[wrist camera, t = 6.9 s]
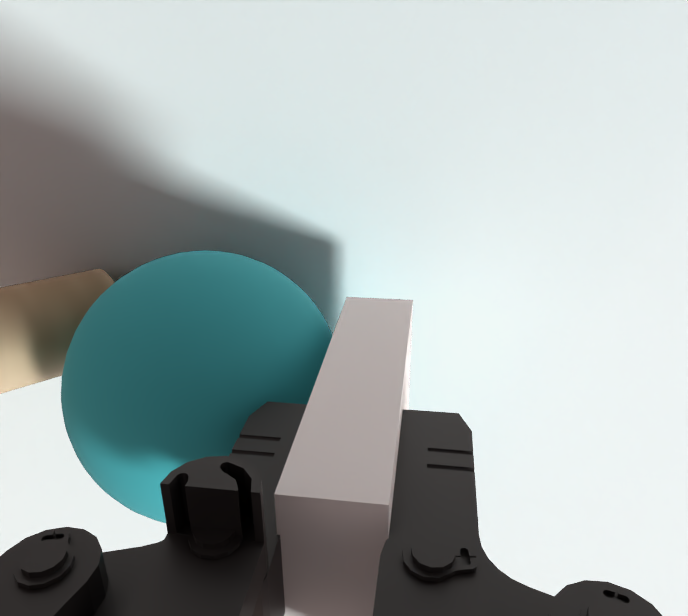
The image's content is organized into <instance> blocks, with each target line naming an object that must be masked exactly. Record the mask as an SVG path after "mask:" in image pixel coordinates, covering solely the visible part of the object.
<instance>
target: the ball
mask: <svg viewBox="0 0 688 616" xmlns="http://www.w3.org/2000/svg"><path fill="white" fill-rule="evenodd" d="M331 339H332V334H331V331H330V329H329V327H328V324H327V323H326V321H325V319H324V317H323V315H322V314H321V312H320V311H319V309H318V308H317V306H316V305H315V303H314V302H313V301H312V300H311V299H310V297H309V296H308V295H307V294H306V293H305V292H304V291H303V290H302V289H301V288H300V287H299V286H298V285H297V284H295V283H294V282H293V281H292V280H290V279H289V278H288V277H286V276H285V275H284V274H282V273H281V272H279V271H278V270H276V269H274V268H273V267H271V266H269V265H267V264H265V263H263V262H260V261H257V260H254V259H252V258H249V257H246V256H243V255H239V254H234V253H229V252H222V251H209V250H203V251H189V252H181V253H176V254H172V255H168V256H164V257H161V258H158V259H155V260H153V261H150V262H148V263H146V264H143V265H141V266H139V267H138V268H136V269H134V270H133V271H131V272H129V273H128V274H126V275H124V276H123V277H121V278H120V279H118V280H117V281H116V282H115V283H114V284H113V285H111V286H110V287H109V288H108V289H107V290H106V291H105V292H104V293H102V294H101V295H100V296H99V298H98V299H97V300H96V301H95V302H94V303H93V305H92V306H91V307H90V308H89V310H88V311H87V313H86V314H85V316H84V317H83V319H82V321H81V322H80V324H79V326H78V327H77V329H76V331H75V333H74V336H73V338H72V341H71V343H70V346H69V348H68V351H67V354H66V359H65V363H64V368H63V373H62V387H61V403H62V411H63V417H64V422H65V427H66V430H67V433H68V436H69V439H70V441H71V444H72V446H73V448H74V451H75V453H76V455H77V457H78V459H79V460H80V462H81V464H82V465H83V467H84V468H85V470H86V471H87V472H88V474H89V475H90V476H91V477H92V479H93V480H94V481H95V482H96V483H97V484H98V485H99V486H100V487H101V488H102V489H103V490H104V491H105V492H106V493H107V494H109V495H110V496H111V497H112V498H114V499H115V500H117V501H118V502H119V503H121V504H122V505H124V506H125V507H127V508H129V509H130V510H132V511H134V512H136V513H138V514H141V515H143V516H146V517H149V518H151V519H154V520H156V521H160V522H164V523H166V518H165V512H164V506H163V500H162V494H161V488H160V483H161V482H162V481H163V480H164V479H165V477H166V476H167V475H168V474H169V473H170V472H171V471H173V470H174V469H176V468H178V467H180V466H181V465H183V464H185V463H187V462H189V461H193V460H196V459H200V458H204V457H209V456H229V454H230V453H232V448H233V446H234V444H235V442H236V440H237V438H239V436H240V432H241V430H242V428H243V427H244V425H245V423H246V421H247V419H248V417H249V416H250V415H251V414H252V413H253V412H255V411H256V410H257V409H259V408H260V407H261V406H262V405H264V404H265V403H266V402H267V401H268V402H282V403H296V404H308V401H309V398H310V396H311V393H312V390H313V387H314V385H315V382H316V379H317V377H318V374H319V371H320V368H321V366H322V363H323V360H324V358H325V355H326V352H327V349H328V347H329V344H330V341H331Z"/></svg>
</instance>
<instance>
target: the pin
mask: <svg viewBox="0 0 688 616" xmlns="http://www.w3.org/2000/svg"><path fill="white" fill-rule="evenodd" d="M114 283H115V282H114V281H113V280H112V278H111V277H110V276H109V275H108V274H107V273H106V272H105V271H104V270H102V269H94V270H89V271H84V272H79V273H74V274H68V275H63V276H58V277H53V278H48V279H43V280H37V281H32V282H27V283H22V284H17V285H12V286H6V287H1V288H0V394H1V393H4V392H8V391H11V390H15V389H18V388H21V387H25V386H28V385H31V384H35V383H38V382H42V381H45V380H48V379H52V378H55V377H58V376H62V373H63V368H64V363H65V359H66V354H67V351H68V348H69V346H70V343H71V341H72V338H73V336H74V333H75V331H76V329H77V327H78V326H79V324H80V322H81V321H82V319H83V317H84V316H85V314H86V313H87V311H88V310H89V308H90V307H91V306H92V305H93V303H94V302H95V301H96V300H97V299H98V298H99V296H100V295H101V294H102V293H104V292H105V291H106V290H107V289H108V288H109V287H110V286H111V285H113V284H114Z"/></svg>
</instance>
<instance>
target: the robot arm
mask: <svg viewBox="0 0 688 616" xmlns="http://www.w3.org/2000/svg"><path fill="white" fill-rule="evenodd" d="M412 309H413V300H400V299H379V298H359V297H347V298H346V300H345V303H344V306H343V309H342V311H341V314H340V317H339V319H338V322H337V325H336V328H335V330H334V333H333V336H332V339H331V341H330V344H329V347H328V349H327V352H326V355H325V358H324V360H323V363H322V366H321V368H320V371H319V374H318V377H317V379H316V382H315V385H314V387H313V390H312V393H311V396H310V398H309V401H308V404H296V403H282V402H268V401H267V402H266V403H265V404H264V405H262V406H261V407H260V408H259V409H257V410H256V411H255V412H253V413H252V414H251V415H250V416H249V417H248V419H247V421H246V423H245V425H244V427H243V428H242V430H241V432H240V436H239V438H237V440H236V442H235V444H234V446H233V448H232V453H230V454H229V456H209V457H204V458H200V459H196V460H193V461H189V462H187V463H185V464H183V465H181V466H180V467H178V468H176V469H174V470H173V471H171V472H170V473H169V474H168V475H167V476H166V477H165V479H164V480H163V481H162V482H161V483H160V488H161V494H162V500H163V506H164V512H165V518H166V525H167V531H168V534H167V536H166V537H165V539H164V540H163V541H160V542H158V543H154V544H150V545H146V546H142V547H136V548H129V549H123V550H116V551H110V552H103V553H102V549H101V547H100V544H99V542H98V539H97V537H95V536H94V535H92V534H91V533H89V532H88V531H86V530H84V529H78V528H71V527H63V528H57V529H50V530H45V531H43V532H40V533H38V534H35V535H32V536H30V537H27V538H25V539H24V540H22V541H21V542H19V543H18V544H16V545H15V546H13V547H12V548H10V549H9V550H7V551H6V552H5V553H4V554H3V555H1V556H0V616H662V615H661V614H660V613H659V612H658V610H657V609H656V608H655V607H654V606H653V605H652V604H651V603H649V602H648V601H646V600H645V599H643V598H642V597H640V596H639V595H637V594H636V593H634V592H633V591H631V590H628V589H626V588H623V587H620V586H617V585H614V584H612V583H609V582H600V581H587V580H585V581H581V582H577V583H574V584H570V585H567V586H565V587H564V588H563V589H562V590H561V591H560V592H559V593H558V594H557V595H556V596H551V595H549V594H546V593H543V592H541V591H538V590H535V589H533V588H530V587H527V586H525V585H523V584H521V583H519V582H517V581H515V580H513V579H511V578H510V577H508V576H507V575H506V574H504V573H503V572H501V571H500V570H499V569H498V568H497V567H496V566H495V565H494V564H493V563H492V562H491V561H490V560H489V559H488V557H487V556H486V554H485V552H484V550H483V548H482V547H481V543H480V538H479V531H478V517H477V502H476V487H475V473H474V458H473V444H472V431H471V430H470V428H469V427H468V426H467V424H466V423H465V422H464V420H463V419H462V417H461V416H460V415H459V413H445V412H431V411H418V410H408V408H409V387H410V361H411V335H412Z"/></svg>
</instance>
